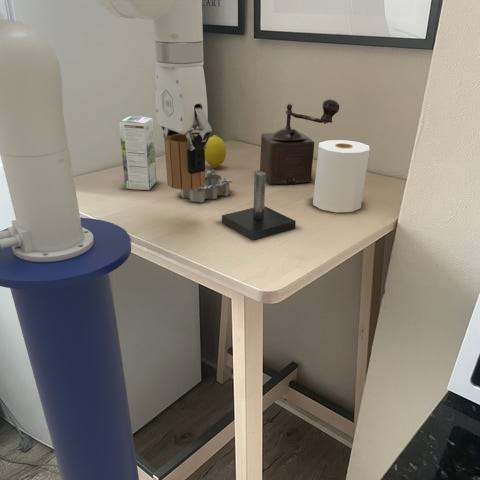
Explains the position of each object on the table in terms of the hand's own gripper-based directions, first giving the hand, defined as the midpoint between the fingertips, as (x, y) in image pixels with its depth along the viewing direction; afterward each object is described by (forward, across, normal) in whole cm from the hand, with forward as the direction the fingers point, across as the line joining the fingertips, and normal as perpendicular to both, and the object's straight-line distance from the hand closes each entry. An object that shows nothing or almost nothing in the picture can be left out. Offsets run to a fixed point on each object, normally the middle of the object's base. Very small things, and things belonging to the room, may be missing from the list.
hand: (185, 166), depth 89 cm
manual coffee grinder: (+12, -11, +37) cm, 40 cm away
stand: (+11, +8, +11) cm, 17 cm away
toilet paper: (+12, +8, +32) cm, 35 cm away
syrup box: (+11, -25, +3) cm, 28 cm away
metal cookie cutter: (+11, -12, +12) cm, 20 cm away
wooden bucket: (+3, 0, 0) cm, 3 cm away
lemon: (+11, -28, +25) cm, 39 cm away
